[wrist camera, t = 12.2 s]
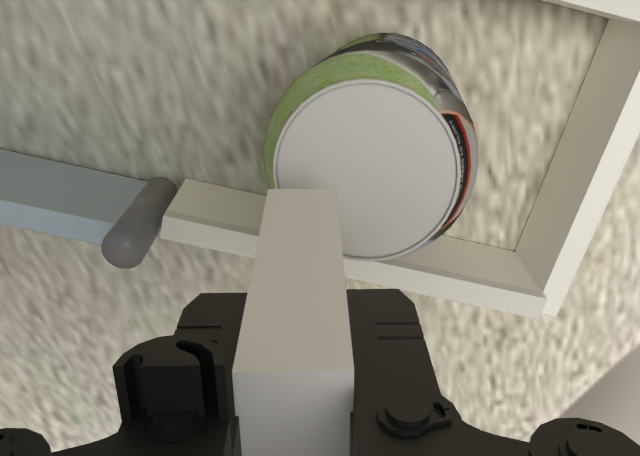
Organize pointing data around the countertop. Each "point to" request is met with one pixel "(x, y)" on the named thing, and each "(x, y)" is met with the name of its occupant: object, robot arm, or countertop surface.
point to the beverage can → (377, 144)
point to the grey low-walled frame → (473, 258)
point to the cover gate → (84, 205)
